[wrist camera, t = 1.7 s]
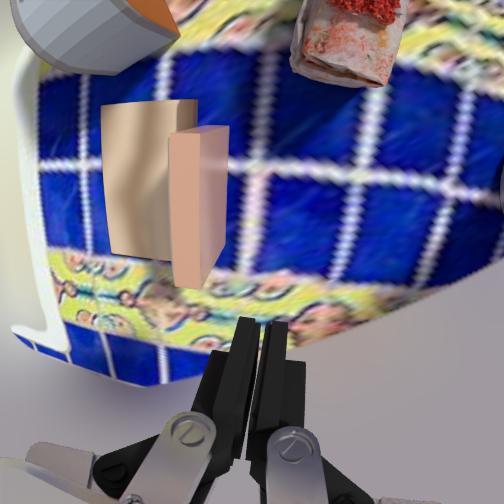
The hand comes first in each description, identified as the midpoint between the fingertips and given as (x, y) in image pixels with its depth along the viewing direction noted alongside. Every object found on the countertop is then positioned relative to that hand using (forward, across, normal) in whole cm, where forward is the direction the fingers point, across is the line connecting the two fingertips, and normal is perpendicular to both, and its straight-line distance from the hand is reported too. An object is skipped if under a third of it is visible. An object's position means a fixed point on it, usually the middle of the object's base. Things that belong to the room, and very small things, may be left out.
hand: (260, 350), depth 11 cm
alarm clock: (+21, +18, -20) cm, 34 cm away
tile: (+21, +7, 0) cm, 22 cm away
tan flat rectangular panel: (+21, +15, 0) cm, 26 cm away
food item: (+21, -4, -17) cm, 28 cm away
